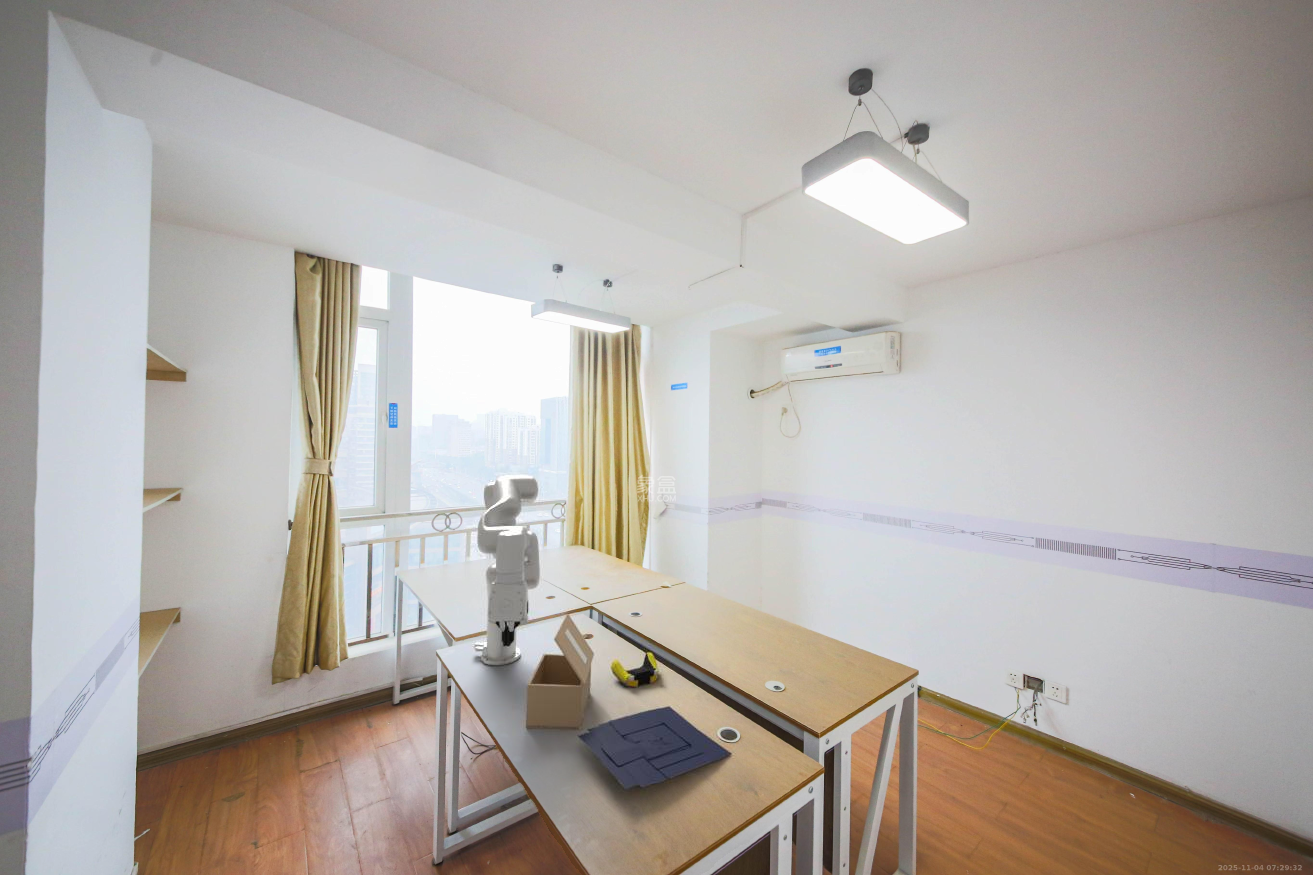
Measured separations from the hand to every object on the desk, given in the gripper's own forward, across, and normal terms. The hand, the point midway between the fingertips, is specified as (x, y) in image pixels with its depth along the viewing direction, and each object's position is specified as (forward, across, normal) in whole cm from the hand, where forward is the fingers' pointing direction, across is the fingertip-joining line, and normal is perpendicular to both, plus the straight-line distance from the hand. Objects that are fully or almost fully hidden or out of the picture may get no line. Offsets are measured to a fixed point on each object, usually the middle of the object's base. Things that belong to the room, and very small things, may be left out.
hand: (507, 644), depth 127 cm
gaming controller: (+18, +35, +19) cm, 44 cm away
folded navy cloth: (+19, +40, -15) cm, 47 cm away
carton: (+18, +15, +1) cm, 23 cm away
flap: (+1, +18, 0) cm, 18 cm away
